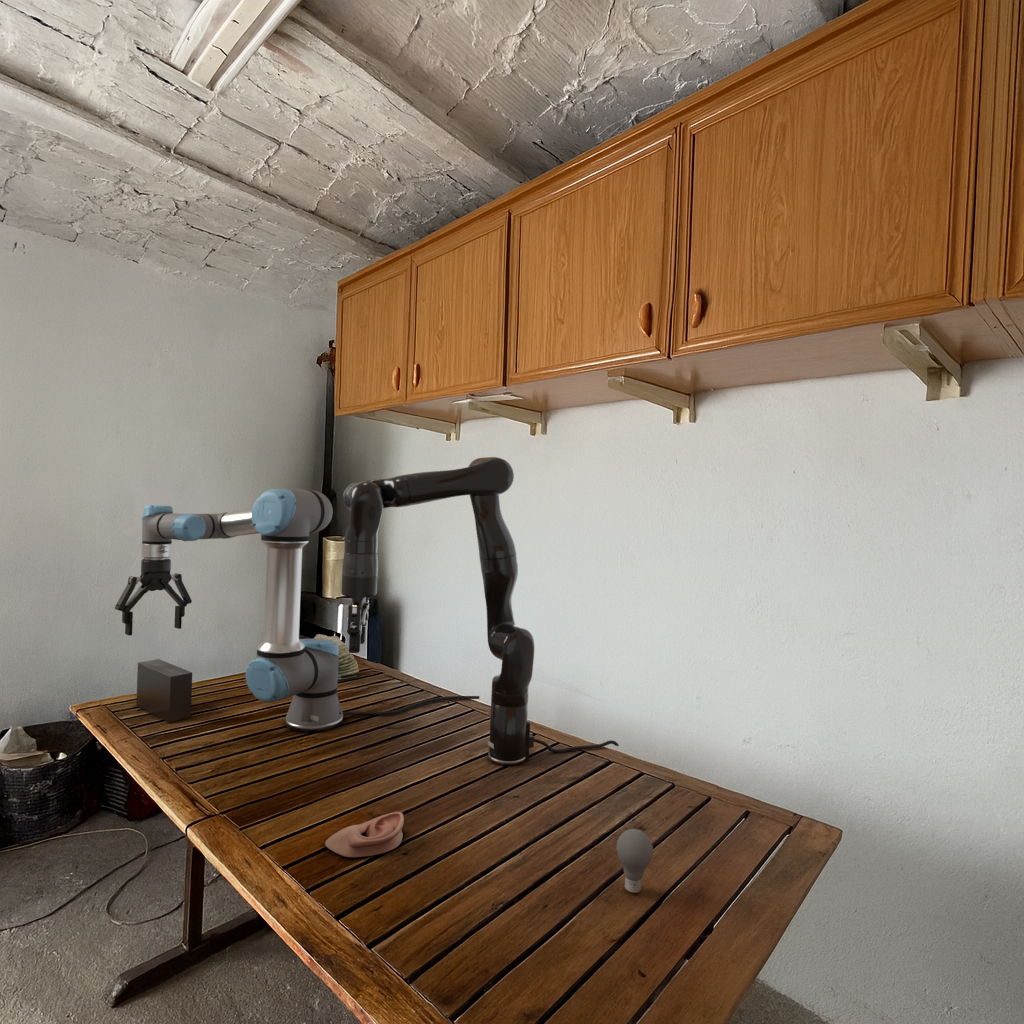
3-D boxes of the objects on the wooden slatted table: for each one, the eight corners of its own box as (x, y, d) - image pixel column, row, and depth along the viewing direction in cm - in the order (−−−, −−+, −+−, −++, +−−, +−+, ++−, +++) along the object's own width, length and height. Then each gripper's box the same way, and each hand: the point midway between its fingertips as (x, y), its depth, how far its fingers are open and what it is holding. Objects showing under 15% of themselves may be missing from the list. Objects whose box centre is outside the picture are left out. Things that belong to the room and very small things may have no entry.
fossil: (300, 678, 217) (301, 634, 217) (349, 670, 229) (351, 629, 229) (311, 684, 210) (313, 639, 210) (361, 676, 223) (363, 633, 222)
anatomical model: (317, 830, 113) (346, 800, 124) (316, 852, 113) (345, 821, 124) (387, 841, 110) (410, 810, 121) (386, 864, 110) (410, 831, 121)
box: (136, 706, 184) (137, 662, 183) (157, 701, 188) (159, 659, 188) (169, 723, 171) (170, 676, 171) (190, 717, 176) (192, 672, 176)
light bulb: (610, 879, 108) (613, 822, 108) (644, 879, 109) (647, 822, 109) (619, 902, 102) (622, 840, 102) (655, 901, 103) (658, 840, 103)
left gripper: (114, 561, 171) (111, 639, 171) (205, 557, 191) (203, 627, 191) (102, 559, 176) (100, 635, 176) (193, 555, 196) (190, 623, 196)
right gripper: (374, 578, 130) (371, 656, 131) (380, 570, 145) (377, 640, 145) (336, 577, 130) (333, 655, 130) (347, 569, 144) (344, 640, 144)
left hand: (153, 631), depth 184 cm, fingers open, 13 cm apart
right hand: (357, 647), depth 137 cm, fingers open, 8 cm apart
